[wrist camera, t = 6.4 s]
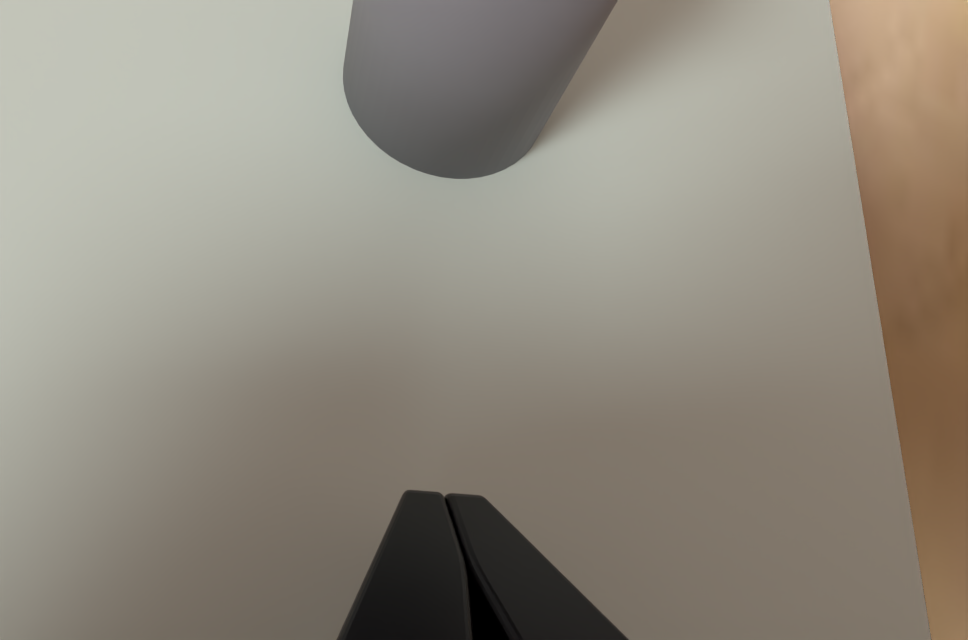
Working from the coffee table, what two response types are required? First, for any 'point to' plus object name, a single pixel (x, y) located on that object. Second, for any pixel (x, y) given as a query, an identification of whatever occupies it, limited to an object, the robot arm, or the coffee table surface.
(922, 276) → the coffee table surface
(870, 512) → the box lid
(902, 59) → the coffee table surface
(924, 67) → the coffee table surface
